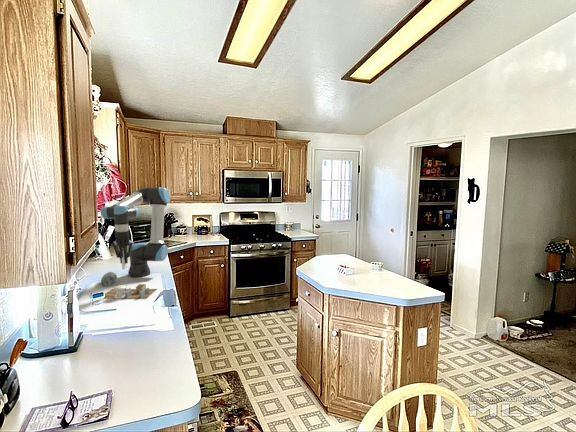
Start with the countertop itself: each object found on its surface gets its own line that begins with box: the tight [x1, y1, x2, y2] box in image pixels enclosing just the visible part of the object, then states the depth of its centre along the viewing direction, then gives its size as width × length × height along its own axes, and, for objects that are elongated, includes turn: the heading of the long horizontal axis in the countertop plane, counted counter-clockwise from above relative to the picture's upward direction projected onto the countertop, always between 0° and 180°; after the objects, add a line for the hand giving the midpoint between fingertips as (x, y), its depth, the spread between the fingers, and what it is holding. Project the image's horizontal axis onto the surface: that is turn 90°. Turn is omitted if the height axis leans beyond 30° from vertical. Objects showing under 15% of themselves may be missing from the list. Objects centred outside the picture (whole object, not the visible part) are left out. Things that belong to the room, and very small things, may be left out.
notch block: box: [125, 287, 150, 298], centre depth 210 cm, size 8×12×4 cm, turn 90°
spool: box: [100, 271, 118, 287], centre depth 235 cm, size 14×10×10 cm
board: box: [102, 288, 158, 300], centre depth 214 cm, size 18×29×1 cm, turn 90°
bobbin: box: [113, 284, 128, 300], centre depth 208 cm, size 7×7×6 cm
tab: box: [135, 283, 147, 293], centre depth 217 cm, size 5×4×4 cm
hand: (124, 268), depth 216 cm, fingers closed
